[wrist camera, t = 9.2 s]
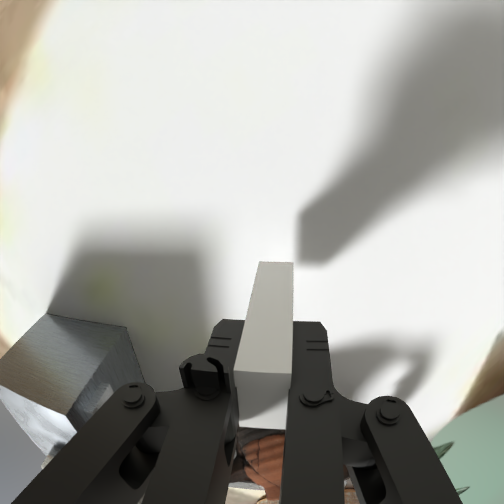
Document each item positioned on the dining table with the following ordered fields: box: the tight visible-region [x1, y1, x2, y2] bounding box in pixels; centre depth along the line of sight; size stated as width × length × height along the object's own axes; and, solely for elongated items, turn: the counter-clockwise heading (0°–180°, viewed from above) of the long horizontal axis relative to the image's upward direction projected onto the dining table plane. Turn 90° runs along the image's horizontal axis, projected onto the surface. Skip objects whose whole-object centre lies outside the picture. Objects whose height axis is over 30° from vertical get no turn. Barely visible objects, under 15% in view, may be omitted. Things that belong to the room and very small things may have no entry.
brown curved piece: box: [229, 421, 350, 501], centre depth 18 cm, size 12×9×8 cm
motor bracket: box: [0, 314, 347, 504], centre depth 16 cm, size 14×24×10 cm, turn 92°
